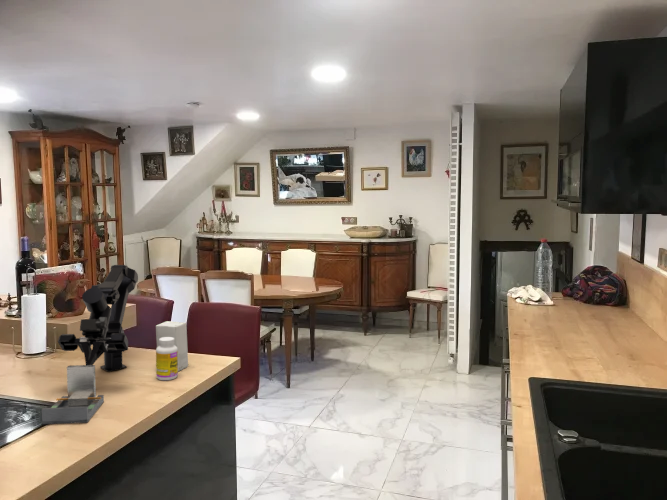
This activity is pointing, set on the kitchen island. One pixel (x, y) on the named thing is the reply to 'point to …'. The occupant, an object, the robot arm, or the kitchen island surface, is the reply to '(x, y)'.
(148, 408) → the kitchen island surface
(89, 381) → the block
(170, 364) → the supplement bottle
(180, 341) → the skincare box
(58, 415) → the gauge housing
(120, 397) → the kitchen island surface
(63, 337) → the robot arm
